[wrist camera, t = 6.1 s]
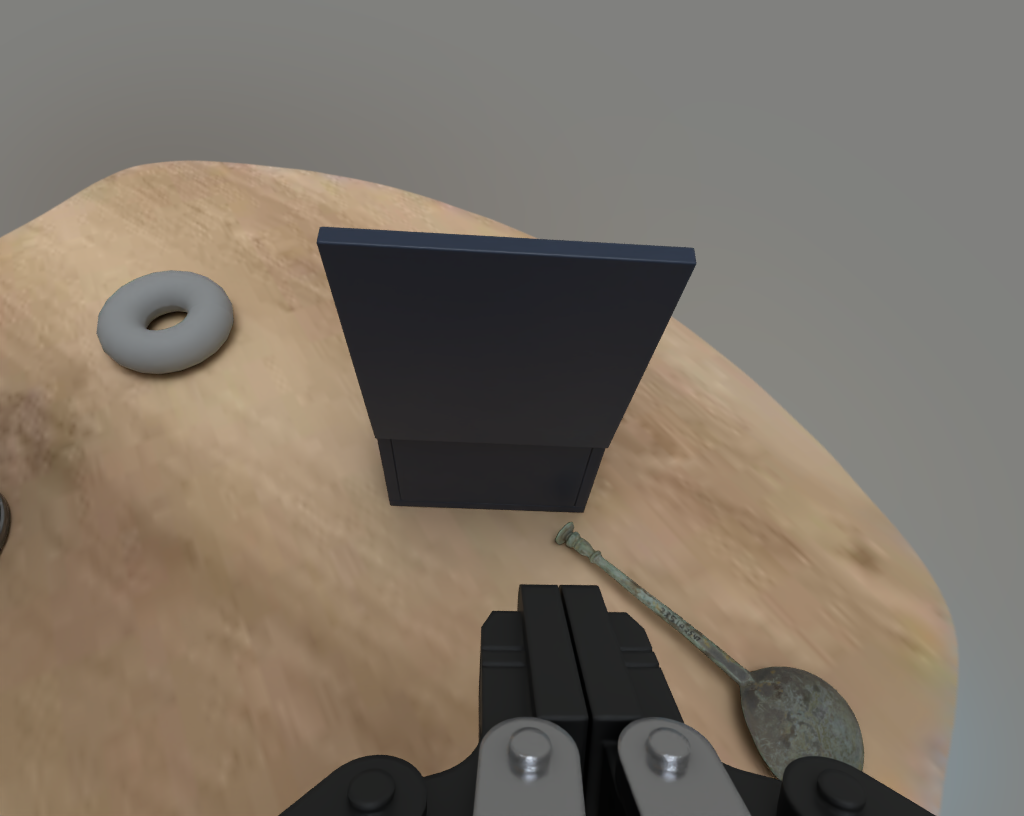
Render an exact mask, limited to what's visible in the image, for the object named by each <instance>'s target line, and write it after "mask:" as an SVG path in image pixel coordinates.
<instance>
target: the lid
mask: <svg viewBox="0 0 1024 816" xmlns="http://www.w3.org/2000/svg"><path fill="white" fill-rule="evenodd" d="M317 246H318V249H319V252H320V256H321V259H322V262H323V266H324V269H325V272H326V276H327V279H328V282H329V286H330V289H331V292H332V296H333V299H334V302H335V306H336V309H337V312H338V316H339V319H340V322H341V326H342V329H343V332H344V336H345V339H346V342H347V346H348V349H349V352H350V356H351V359H352V362H353V366H354V369H355V372H356V376H357V379H358V382H359V386H360V389H361V392H362V396H363V399H364V402H365V406H366V409H367V412H368V416H369V419H370V422H371V426H372V429H373V432H374V436H375V438H376V439H399V440H424V441H448V442H472V443H496V444H520V445H544V446H568V447H592V448H608V447H609V445H610V443H611V441H612V439H613V437H614V434H615V432H616V430H617V428H618V426H619V424H620V422H621V420H622V418H623V416H624V414H625V412H626V409H627V407H628V405H629V403H630V401H631V399H632V397H633V395H634V393H635V391H636V389H637V387H638V384H639V382H640V380H641V378H642V376H643V374H644V372H645V370H646V368H647V366H648V364H649V361H650V359H651V357H652V355H653V353H654V351H655V349H656V347H657V345H658V343H659V341H660V339H661V336H662V334H663V332H664V330H665V328H666V326H667V324H668V322H669V320H670V318H671V316H672V314H673V311H674V309H675V307H676V305H677V303H678V301H679V299H680V297H681V295H682V293H683V290H684V288H685V286H686V284H687V282H688V280H689V278H690V276H691V274H692V272H693V270H694V268H695V265H696V258H695V251H694V248H686V247H669V246H651V245H634V244H616V243H599V242H582V241H564V240H547V239H529V238H512V237H494V236H477V235H459V234H441V233H424V232H406V231H389V230H371V229H354V228H336V227H320V229H319V233H318V238H317Z"/></svg>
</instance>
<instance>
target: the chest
mask: <svg viewBox="0 0 1024 816" xmlns="http://www.w3.org/2000/svg"><path fill="white" fill-rule="evenodd" d="M377 440H378V445H379V450H380V455H381V460H382V466H383V471H384V476H385V481H386V486H387V491H388V496H389V501H390V505H391V506H419V507H446V508H473V509H501V510H528V511H556V512H584V509H585V506H586V503H587V500H588V497H589V494H590V492H591V489H592V486H593V483H594V480H595V477H596V474H597V471H598V468H599V465H600V463H601V460H602V457H603V454H604V451H605V448H592V447H568V446H544V445H520V444H496V443H472V442H448V441H424V440H399V439H377Z"/></svg>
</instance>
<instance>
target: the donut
mask: <svg viewBox="0 0 1024 816" xmlns="http://www.w3.org/2000/svg"><path fill="white" fill-rule="evenodd" d="M175 311H182V312H186V313H188V314H187V316H186V317H185V319H184V320H183V321H181V322H180V323H178V324H177V325H175V326H173V327H170V328H167V329H163V330H148V329H146V328H147V326H148V324H149V323H150V322H151V321H152V320H154V319H155V318H157V317H159V316H161V315H163V314H166V313H169V312H175ZM233 322H234V321H233V307H232V303H231V301H230V300H229V298H228V296H227V294H226V293H225V291H224V290H223V288H222V287H220V286H219V285H217V284H216V283H215V282H213V281H212V280H211V279H209V278H207V277H205V276H202V275H199V274H196V273H193V272H186V271H172V270H170V271H163V272H156V273H151V274H148V275H145V276H142V277H139V278H136V279H134V280H133V281H131V282H129V283H127V284H126V285H124V286H122V287H120V288H119V289H118V290H117V291H116V292H115V293H114V294H113V295H112V296H111V297H110V298H109V299H108V300H107V301H106V302H105V304H104V306H103V308H102V310H101V311H100V313H99V316H98V325H97V335H98V338H99V340H100V343H101V345H102V348H103V350H104V352H105V353H106V354H108V355H109V356H110V357H111V358H112V359H113V360H114V361H116V362H117V363H118V364H119V365H121V366H124V367H127V368H129V369H132V370H135V371H138V372H141V373H153V374H163V373H169V372H175V371H181V370H184V369H186V368H189V367H191V366H194V365H196V364H199V363H201V362H202V361H204V360H205V359H207V358H208V357H210V356H211V355H213V354H214V353H215V352H217V350H218V349H219V348H220V347H221V346H222V345H223V343H224V342H225V341H226V340H227V338H228V335H229V333H230V330H231V328H232V325H233Z"/></svg>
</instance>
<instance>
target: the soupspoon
mask: <svg viewBox="0 0 1024 816" xmlns="http://www.w3.org/2000/svg"><path fill="white" fill-rule="evenodd" d="M573 529H574V525H573V522H569V523H567V524H566V525H565V526H564V527H563V528H562V529H561V530H560V532H559V533H558V535H557V537H556V542H557V543H558V544H559V545H560V544H562V543H564V542H566V545H567V546H568V547H574V549H575V550H576V551H577V552H579V553H580V554H581V555H583V556H587V557H589V560H590V562H591V563H595V564H597V565H598V566H599V567H600V568H602V569H603V570H604V571H605V572H606V573H608V574H609V575H610V576H611V577H612V578H613V579H615V580H616V581H617V582H618V583H619V584H621V585H622V586H623V587H624V588H625V589H626V590H628V591H629V592H630V593H631V594H633V595H634V596H635V597H636V598H637V599H638V600H640V601H641V602H642V603H643V604H645V605H646V606H647V607H648V608H650V609H651V610H652V611H653V612H654V613H656V614H657V615H658V616H660V617H661V618H662V619H663V620H665V621H666V622H667V623H668V624H670V625H671V626H672V627H673V628H675V629H676V630H677V631H678V632H679V633H681V634H682V635H683V636H684V637H686V638H687V639H688V640H689V641H690V642H691V643H692V644H694V645H695V646H696V647H697V648H698V649H699V650H700V651H702V652H703V653H704V654H705V655H706V656H707V657H708V658H709V659H711V660H712V661H713V662H714V663H715V664H716V665H717V666H718V667H720V668H721V669H722V670H723V671H724V672H725V673H726V674H727V675H729V676H730V677H731V678H732V679H733V680H734V681H735V682H736V683H737V684H739V686H740V693H741V705H742V710H743V714H744V717H745V721H746V724H747V726H748V728H749V731H750V733H751V735H752V738H753V740H754V742H755V745H756V747H757V749H758V751H759V752H760V754H761V756H762V758H763V760H764V761H765V762H766V764H767V765H768V766H769V768H770V770H771V771H772V772H773V774H774V775H775V776H776V777H777V778H778V779H780V780H781V781H782V778H783V774H784V771H785V768H786V767H787V766H788V764H789V763H791V762H792V761H793V760H795V759H798V758H801V757H805V756H821V757H827V758H832V759H835V760H838V761H842V762H844V763H846V764H849V765H851V766H853V767H855V768H857V769H859V770H860V771H862V770H863V763H864V747H863V739H862V735H861V730H860V727H859V724H858V722H857V719H856V717H855V715H854V713H853V711H852V710H851V708H850V707H849V705H848V703H847V702H846V701H845V700H844V698H843V697H842V696H841V695H840V694H839V693H838V692H837V690H835V689H834V688H833V687H832V686H830V685H829V684H828V683H827V682H825V681H824V680H822V679H821V678H819V677H817V676H815V675H813V674H811V673H809V672H806V671H803V670H800V669H796V668H791V667H769V668H764V669H760V670H757V671H753V672H749V671H748V670H746V669H744V668H743V667H742V666H741V665H740V664H738V663H737V662H736V661H735V660H734V659H732V658H731V657H730V656H729V655H727V654H726V653H725V652H724V651H723V650H721V649H720V648H719V647H718V646H716V645H715V644H714V643H713V642H712V641H710V640H709V639H708V638H706V637H705V636H704V635H703V634H702V633H701V632H699V631H698V630H696V629H695V628H694V627H693V626H691V625H690V624H689V623H687V622H686V621H685V620H683V618H682V617H680V616H678V614H676V613H674V612H673V611H672V610H671V609H670V608H668V607H667V606H666V605H664V604H663V603H661V602H660V601H659V600H657V599H656V598H655V597H653V596H652V595H651V594H649V593H648V592H647V591H645V590H644V589H643V588H641V587H640V586H639V585H638V584H636V583H635V582H634V581H633V580H631V579H630V578H629V577H627V576H626V575H625V574H624V573H622V572H621V571H620V570H619V569H617V568H616V567H615V566H613V565H612V564H611V563H609V562H608V561H607V560H605V559H604V558H603V557H602V556H601V552H600V551H595V550H594V549H593V548H592V547H591V545H590V544H589V543H588V542H587V541H586V540H585V539H583V538H581V537H580V534H579V533H578V532H574V533H573Z"/></svg>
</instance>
